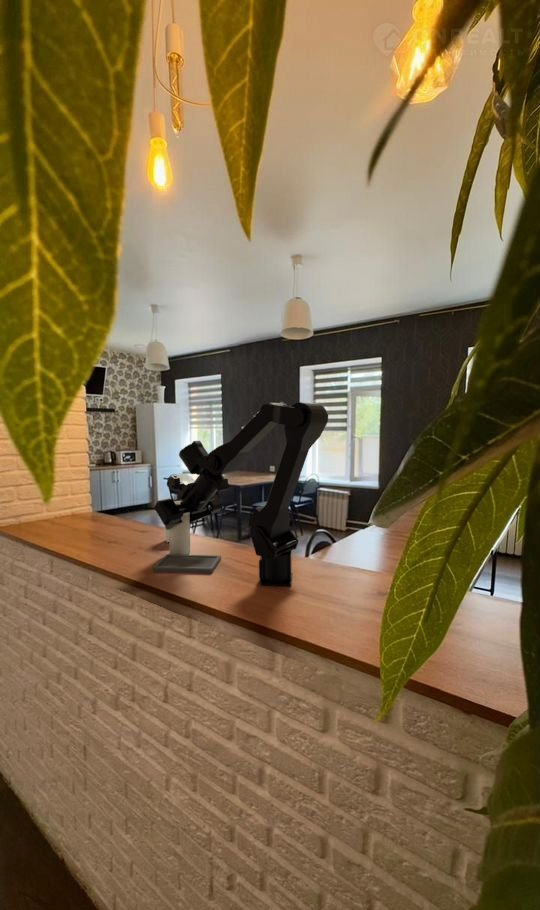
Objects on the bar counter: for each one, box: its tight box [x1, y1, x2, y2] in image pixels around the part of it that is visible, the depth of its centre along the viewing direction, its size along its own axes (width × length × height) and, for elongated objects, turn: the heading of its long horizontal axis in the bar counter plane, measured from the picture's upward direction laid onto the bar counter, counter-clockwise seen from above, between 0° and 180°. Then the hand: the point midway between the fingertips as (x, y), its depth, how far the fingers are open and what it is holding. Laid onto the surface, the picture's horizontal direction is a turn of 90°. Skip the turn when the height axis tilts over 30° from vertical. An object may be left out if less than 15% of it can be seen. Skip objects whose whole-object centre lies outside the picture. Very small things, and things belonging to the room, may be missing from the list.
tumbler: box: [169, 500, 191, 555], centre depth 105 cm, size 6×6×14 cm
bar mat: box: [152, 553, 222, 574], centre depth 96 cm, size 14×9×1 cm, turn 84°
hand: (175, 525), depth 106 cm, fingers open, 6 cm apart
